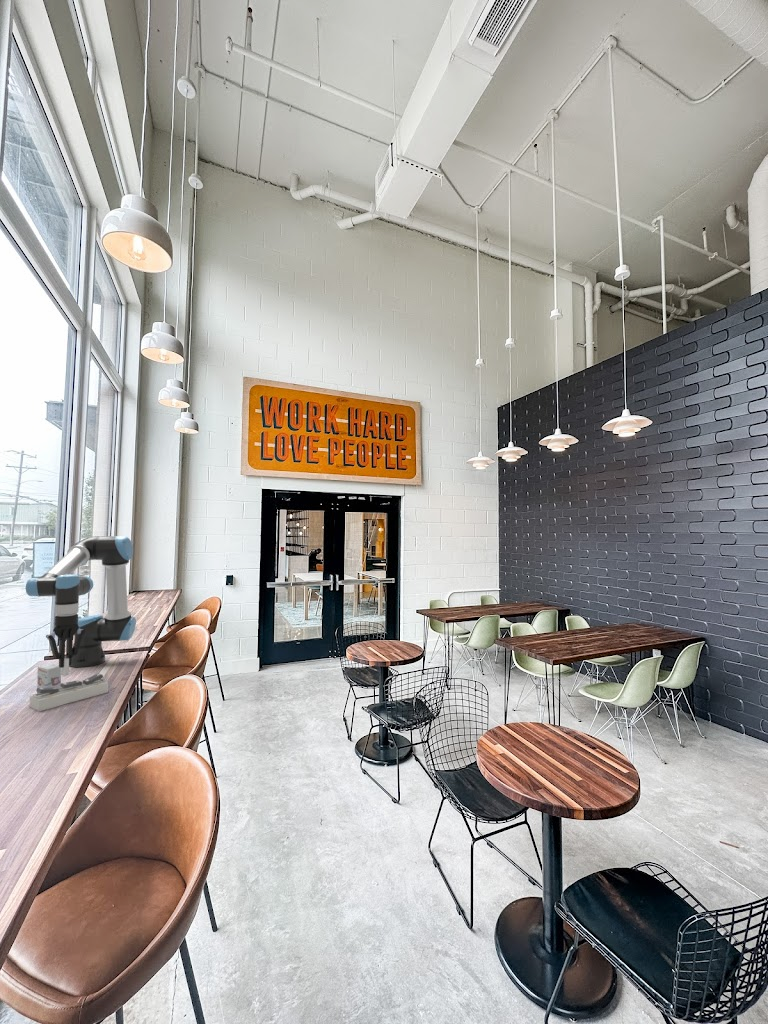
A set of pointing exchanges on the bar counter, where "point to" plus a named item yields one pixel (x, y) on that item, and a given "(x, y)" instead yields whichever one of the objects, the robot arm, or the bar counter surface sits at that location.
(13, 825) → the bar counter surface
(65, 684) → the rocker
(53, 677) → the ink box
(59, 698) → the rocker switch panel
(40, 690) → the rocker
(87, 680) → the rocker
